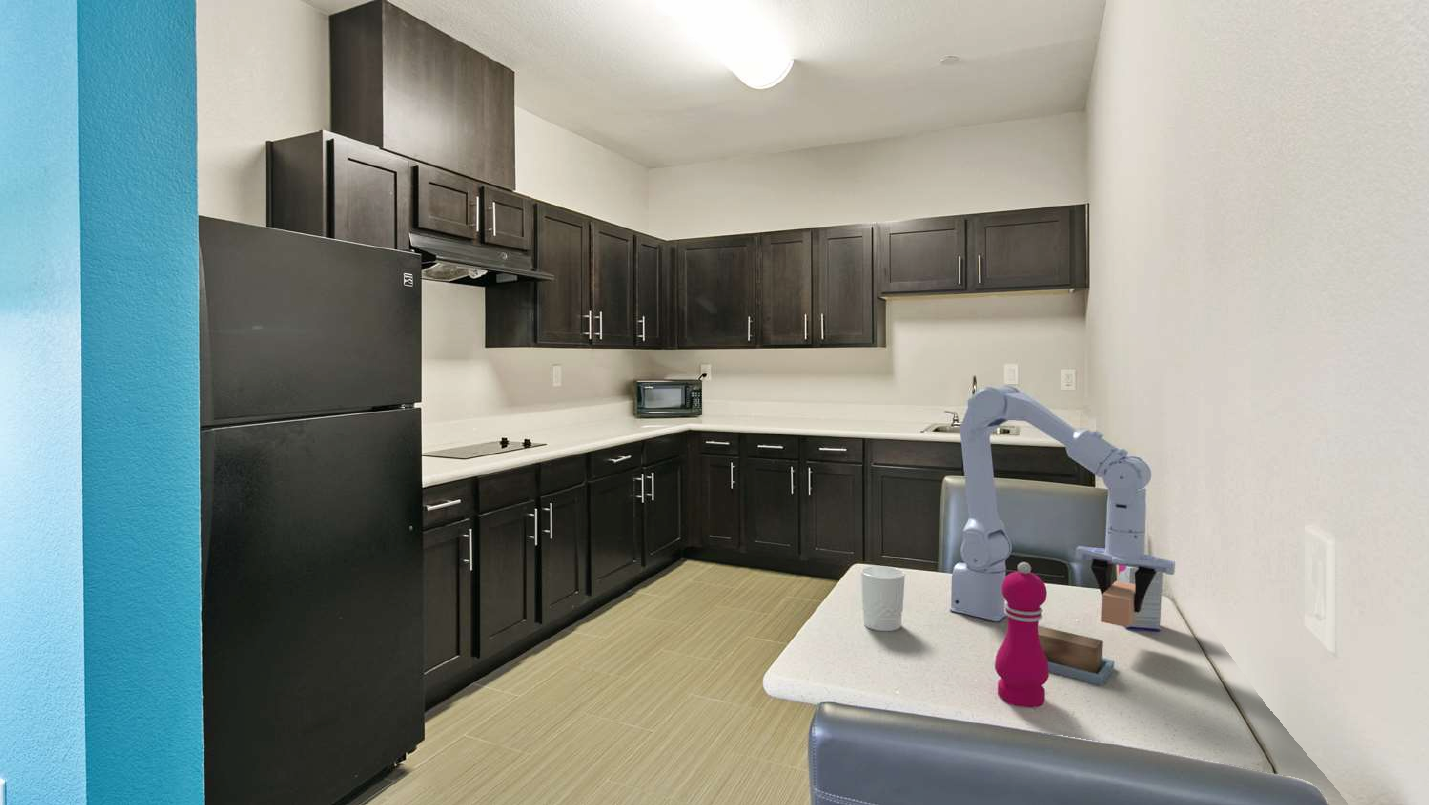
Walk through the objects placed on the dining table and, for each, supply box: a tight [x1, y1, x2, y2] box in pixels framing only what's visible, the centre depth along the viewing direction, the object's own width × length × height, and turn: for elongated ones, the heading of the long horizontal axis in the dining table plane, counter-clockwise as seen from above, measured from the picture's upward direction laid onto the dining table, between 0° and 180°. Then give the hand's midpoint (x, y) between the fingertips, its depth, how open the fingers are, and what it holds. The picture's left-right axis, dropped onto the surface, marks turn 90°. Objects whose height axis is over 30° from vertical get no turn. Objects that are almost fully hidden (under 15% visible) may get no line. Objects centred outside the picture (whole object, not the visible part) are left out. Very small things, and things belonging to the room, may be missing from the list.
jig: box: [1047, 657, 1115, 686], centre depth 116 cm, size 15×14×1 cm
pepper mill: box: [994, 561, 1050, 708], centre depth 104 cm, size 7×7×20 cm
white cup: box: [860, 565, 906, 632], centre depth 133 cm, size 8×8×10 cm
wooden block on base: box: [1038, 625, 1104, 674], centre depth 116 cm, size 11×4×5 cm, turn 50°
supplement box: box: [1117, 565, 1164, 632], centre depth 133 cm, size 6×6×12 cm
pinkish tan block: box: [1100, 580, 1141, 628], centre depth 122 cm, size 4×10×5 cm, turn 139°
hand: (1122, 607), depth 122 cm, fingers closed on pinkish tan block, 4 cm apart
